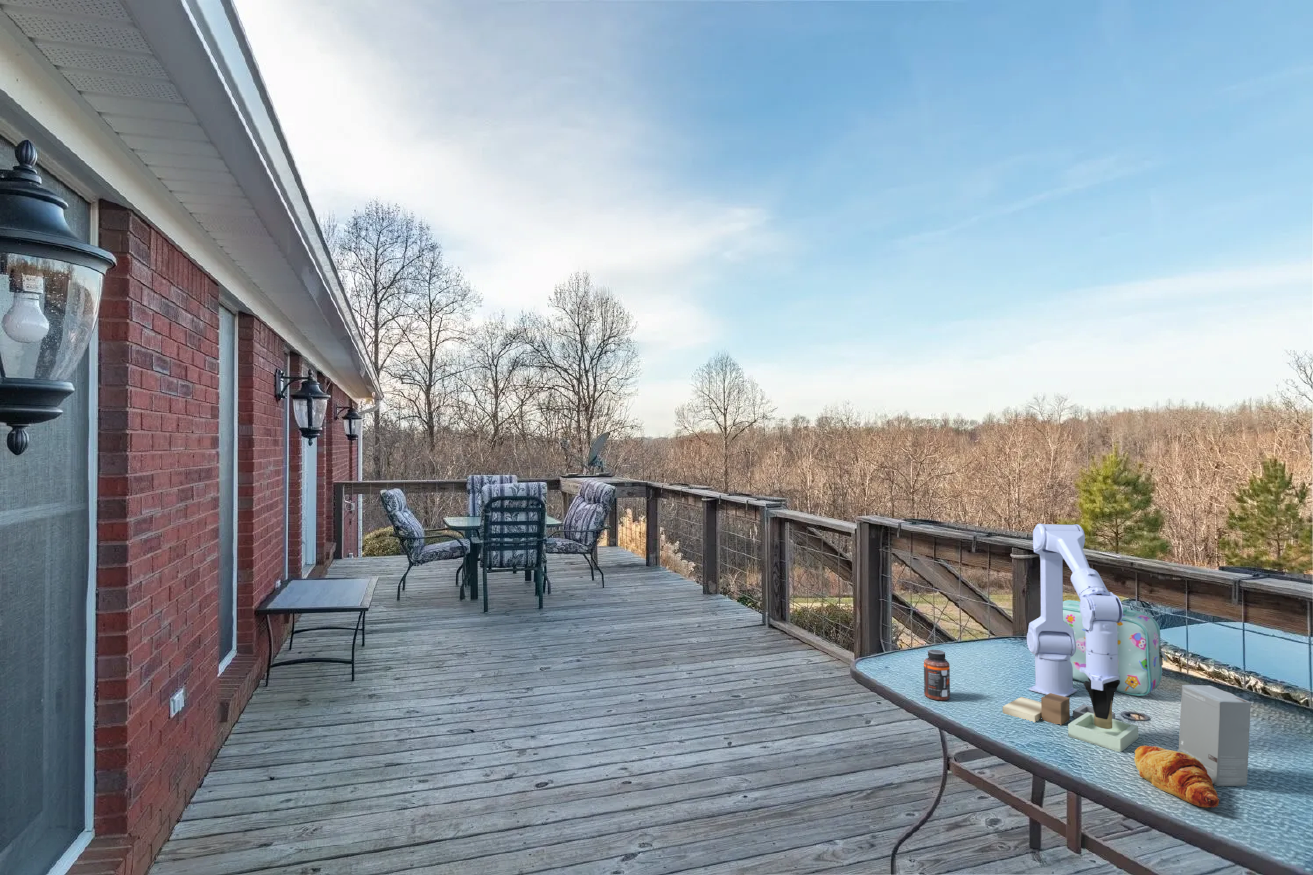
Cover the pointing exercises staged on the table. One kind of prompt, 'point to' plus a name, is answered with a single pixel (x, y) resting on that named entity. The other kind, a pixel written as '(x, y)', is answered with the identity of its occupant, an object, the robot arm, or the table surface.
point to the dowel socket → (1085, 711)
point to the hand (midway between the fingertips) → (1102, 715)
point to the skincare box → (1216, 732)
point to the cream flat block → (1024, 709)
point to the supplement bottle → (936, 676)
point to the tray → (1103, 733)
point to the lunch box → (1124, 649)
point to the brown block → (1055, 708)
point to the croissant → (1176, 775)
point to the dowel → (1104, 720)
